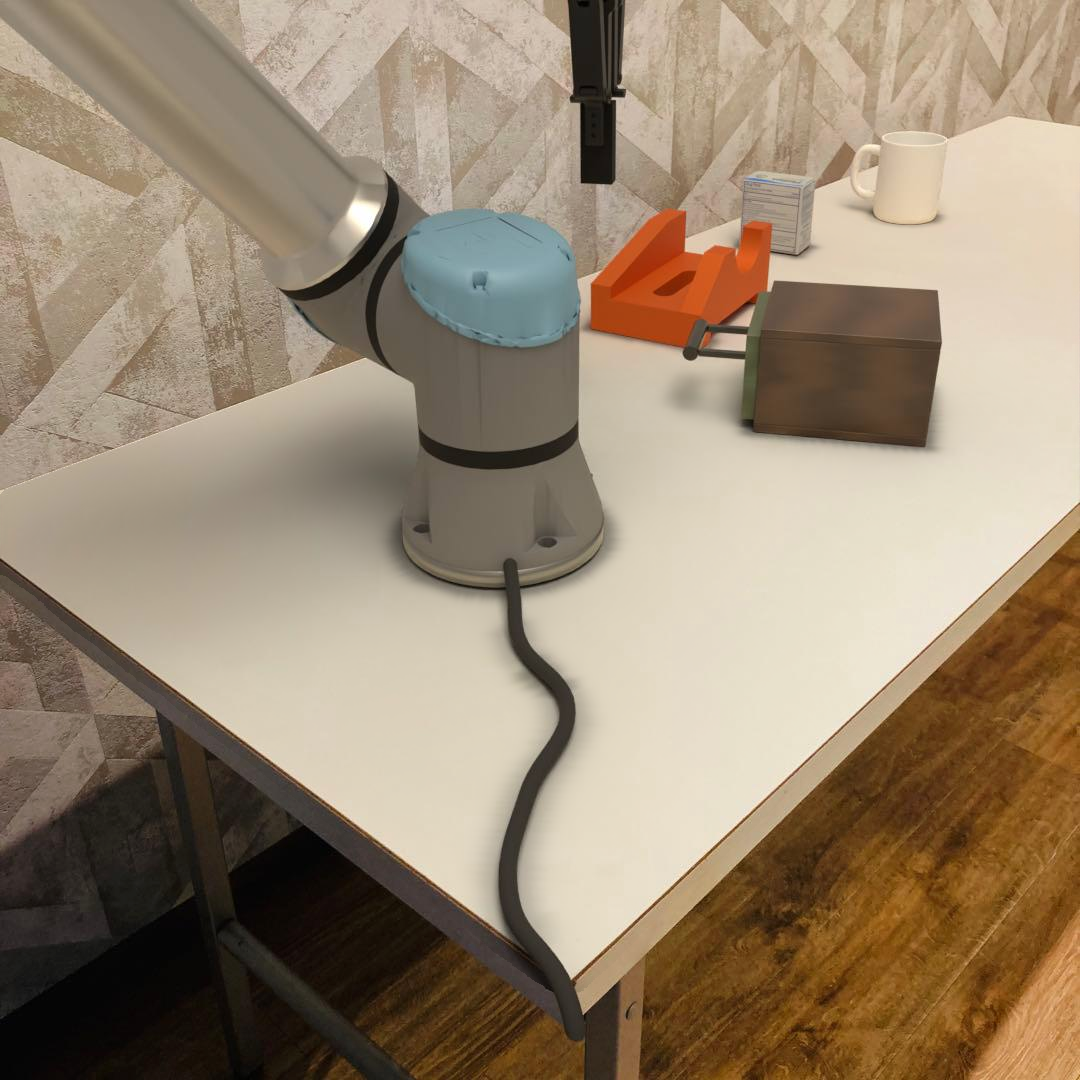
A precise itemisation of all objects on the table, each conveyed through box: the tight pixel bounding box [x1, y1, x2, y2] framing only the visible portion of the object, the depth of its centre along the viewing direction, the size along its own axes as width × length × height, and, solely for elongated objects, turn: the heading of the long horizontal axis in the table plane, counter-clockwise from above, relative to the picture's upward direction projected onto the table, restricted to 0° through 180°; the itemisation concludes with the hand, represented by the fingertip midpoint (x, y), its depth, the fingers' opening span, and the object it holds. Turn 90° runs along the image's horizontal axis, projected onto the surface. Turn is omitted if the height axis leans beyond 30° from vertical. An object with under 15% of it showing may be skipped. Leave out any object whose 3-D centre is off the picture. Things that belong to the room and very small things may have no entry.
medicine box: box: [738, 170, 816, 256], centre depth 147 cm, size 8×4×9 cm, turn 58°
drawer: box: [682, 290, 771, 420], centre depth 107 cm, size 19×11×8 cm, turn 76°
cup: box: [849, 130, 949, 225], centre depth 158 cm, size 8×12×10 cm
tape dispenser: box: [590, 208, 772, 348], centre depth 129 cm, size 18×13×8 cm
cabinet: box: [752, 280, 943, 448], centre depth 106 cm, size 15×13×10 cm
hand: (598, 181), depth 101 cm, fingers closed
